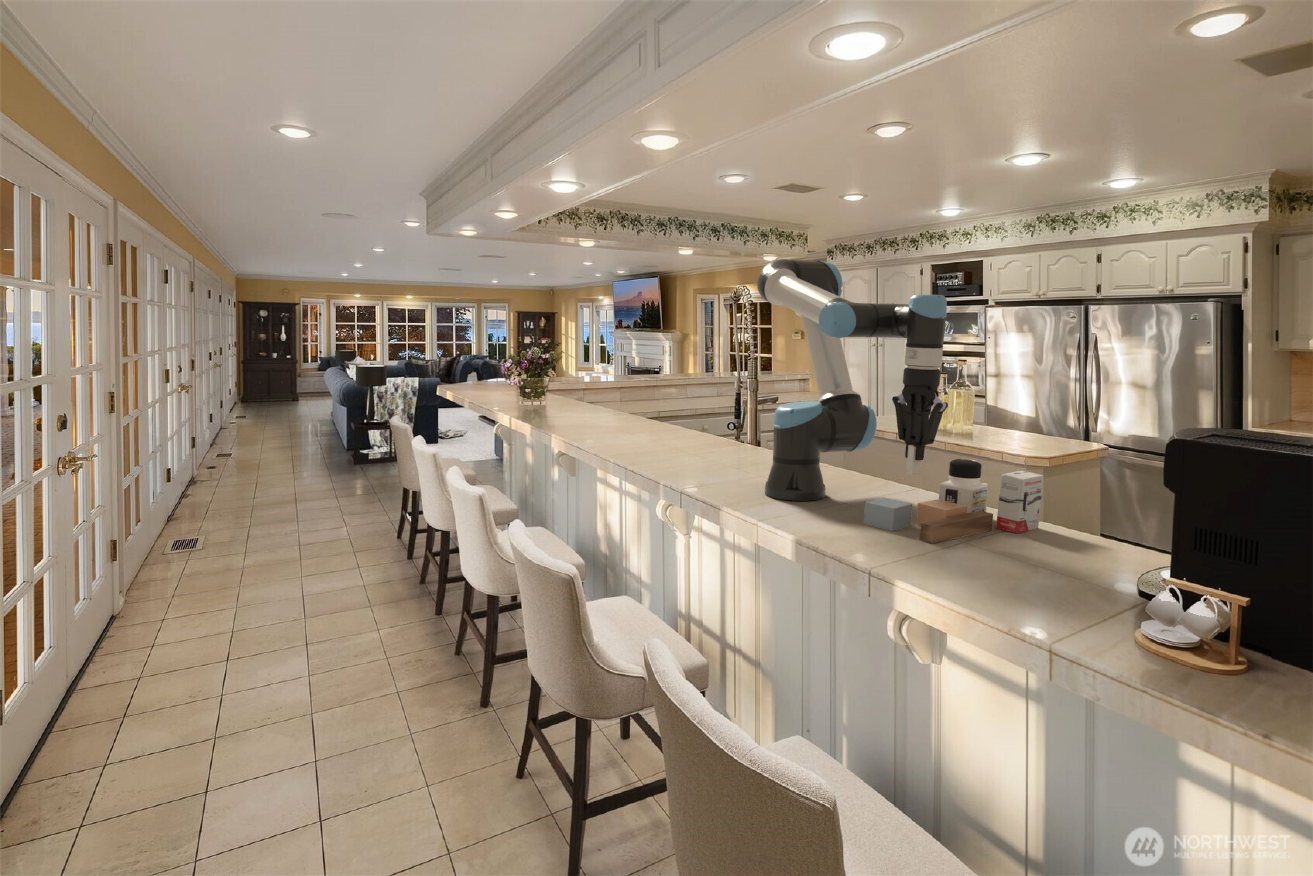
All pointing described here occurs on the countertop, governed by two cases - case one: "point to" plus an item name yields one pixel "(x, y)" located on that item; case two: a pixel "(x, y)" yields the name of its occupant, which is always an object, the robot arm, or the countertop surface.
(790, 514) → the countertop surface
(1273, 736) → the countertop surface
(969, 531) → the walnut board
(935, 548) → the countertop surface
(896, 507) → the slate block
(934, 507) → the terracotta block
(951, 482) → the container
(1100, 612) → the countertop surface
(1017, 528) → the ink box
